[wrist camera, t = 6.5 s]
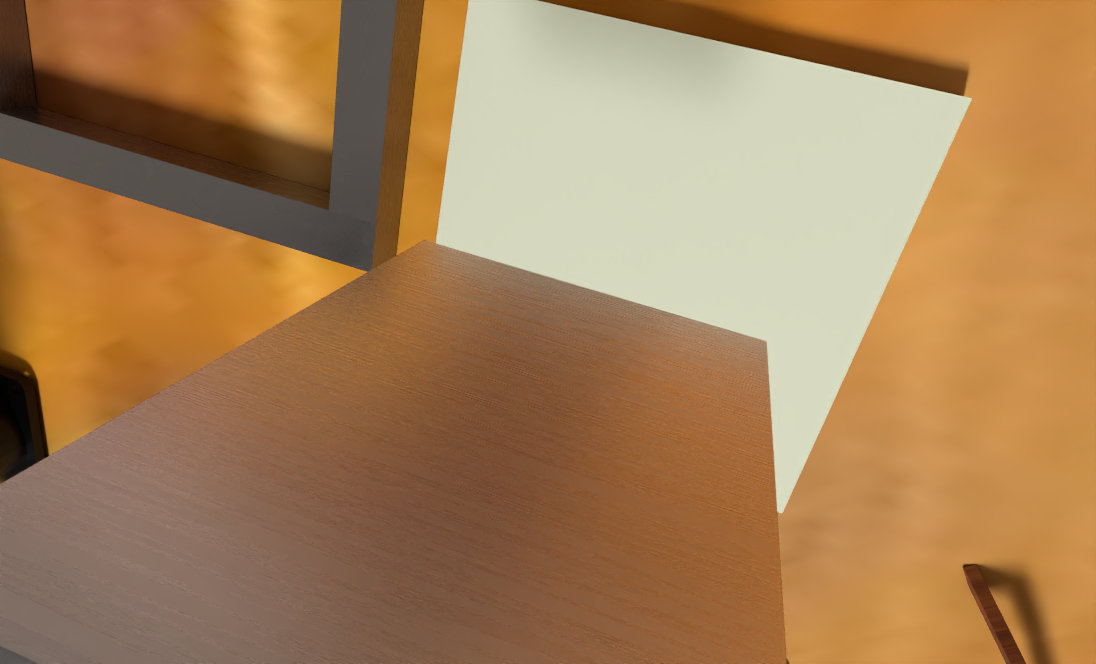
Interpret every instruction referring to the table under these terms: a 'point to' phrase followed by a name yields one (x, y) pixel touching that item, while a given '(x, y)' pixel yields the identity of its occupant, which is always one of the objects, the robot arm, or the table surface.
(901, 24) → the table surface
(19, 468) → the robot arm
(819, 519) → the table surface
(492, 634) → the block
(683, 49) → the felt pad
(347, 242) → the socket frame
